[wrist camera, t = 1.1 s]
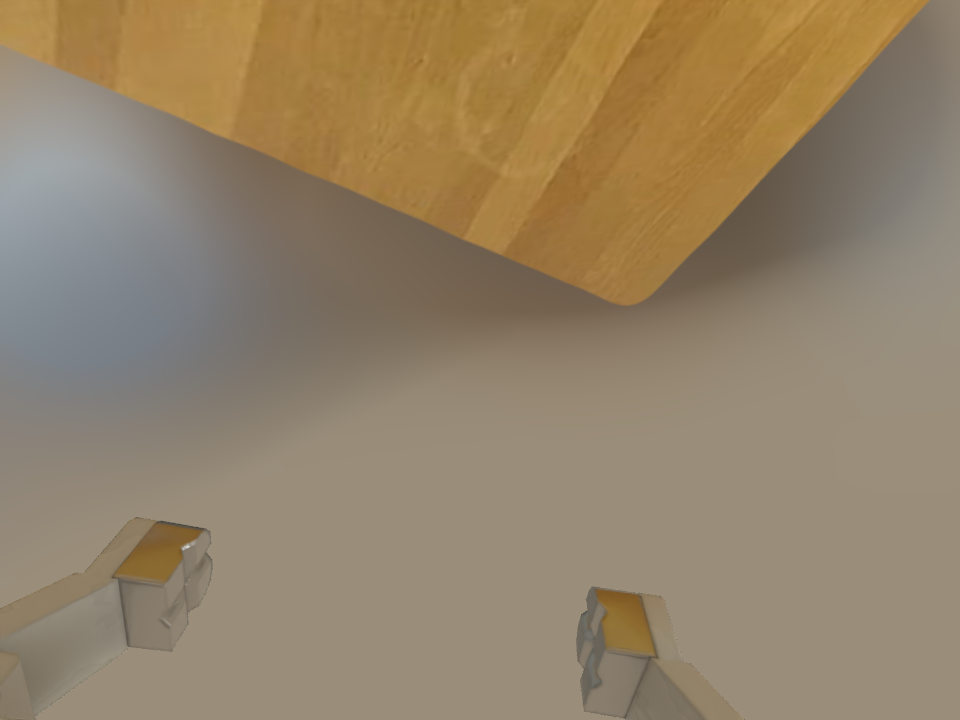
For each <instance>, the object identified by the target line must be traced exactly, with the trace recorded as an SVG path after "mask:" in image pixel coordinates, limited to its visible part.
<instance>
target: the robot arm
mask: <svg viewBox="0 0 960 720" xmlns="http://www.w3.org/2000/svg"><path fill="white" fill-rule="evenodd" d="M210 544H211V536H210V531H209V530H207V529H204V528H199V527H193V526H187V525H181V524H175V523H170V522H165V521H156V520H150V519H144V518H139V517H136V518H134V519H132V520H130V521H129V522H128V523H127V524H126V525H125V526H124V527H123V528H122V530H121V531H120V532H119V533H118V534H117V535H116V536H115V538H114V539H113V540H112V541H111V542H110V543H109V545H108V546H107V547H106V548H105V549H104V550H103V551H102V552H101V554H100V555H99V556H98V557H97V558H96V559H95V560H94V562H93V563H92V564H91V565H90V566H89V567H88V568H87V570H86V571H85V572H84V573H83V574H81V573H74V574H72V575H70V576H68V577H66V578H63V579H61V580H59V581H57V582H55V583H53V584H51V585H49V586H47V587H45V588H42V589H40V590H38V591H36V592H34V593H32V594H30V595H28V596H26V597H24V598H22V599H19V600H17V601H15V602H13V603H11V604H9V605H7V606H4V607H2V608H0V720H36V719H35V716H36V715H38V714H39V713H41V712H42V711H43V710H45V709H46V708H48V707H49V706H50V705H52V704H53V703H54V702H56V701H57V700H59V699H60V698H61V697H63V696H64V695H65V694H67V693H68V692H70V691H71V690H72V689H74V688H75V687H76V686H78V685H79V684H81V683H82V682H83V681H85V680H86V679H88V678H89V677H90V676H92V675H93V674H94V673H96V672H97V671H99V670H100V669H101V668H102V667H104V666H105V665H107V664H108V663H110V662H111V661H112V660H114V659H115V658H117V657H118V656H119V655H120V654H122V653H123V652H125V651H126V650H127V649H128V647H134V648H143V649H152V650H161V651H169V652H172V650H173V649H174V647H175V645H176V643H177V642H178V640H179V639H180V637H181V635H182V634H183V632H184V630H185V629H186V627H187V625H188V612H190V611H191V610H193V609H194V608H196V607H197V606H199V605H200V603H201V602H202V600H203V598H204V596H205V595H206V592H207V589H208V586H209V583H210V581H211V575H212V559H211V558H210V556H209V555H208V554H207V553H206V551H207V549H208V548H209V546H210ZM586 602H587V609H588V610H587V611H586V612H584V613H583V614H581V617H580V621H579V624H578V631H577V639H576V645H577V658H578V662H579V663H580V665H581V666H582V667H583V669H584V671H583V674H582V677H581V680H580V683H581V692H582V699H583V707H584V711H585V712H591V713H596V714H602V715H608V716H613V717H619V718H625V720H744V719H743V718H742V717H741V716H740V714H739V713H738V712H737V711H736V710H735V709H734V708H733V707H732V706H731V705H730V704H729V703H728V702H727V701H726V700H725V699H724V698H723V697H722V696H721V695H720V694H719V692H718V691H717V690H716V689H715V688H714V687H713V686H712V685H711V684H710V683H709V682H708V681H707V680H706V679H705V678H704V677H703V676H702V675H701V674H700V673H699V672H698V671H697V669H696V668H695V667H694V666H693V665H692V664H690V663H685V662H684V661H683V658H682V655H681V651H680V648H679V645H678V642H677V639H676V635H675V632H674V629H673V626H672V623H671V619H670V616H669V613H668V610H667V607H666V603H665V601H664V599H663V598H662V597H661V596H657V595H650V594H643V593H635V592H628V591H621V590H614V589H607V588H599V587H591V589H590V590H589V592H588V595H587V599H586Z"/></svg>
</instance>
